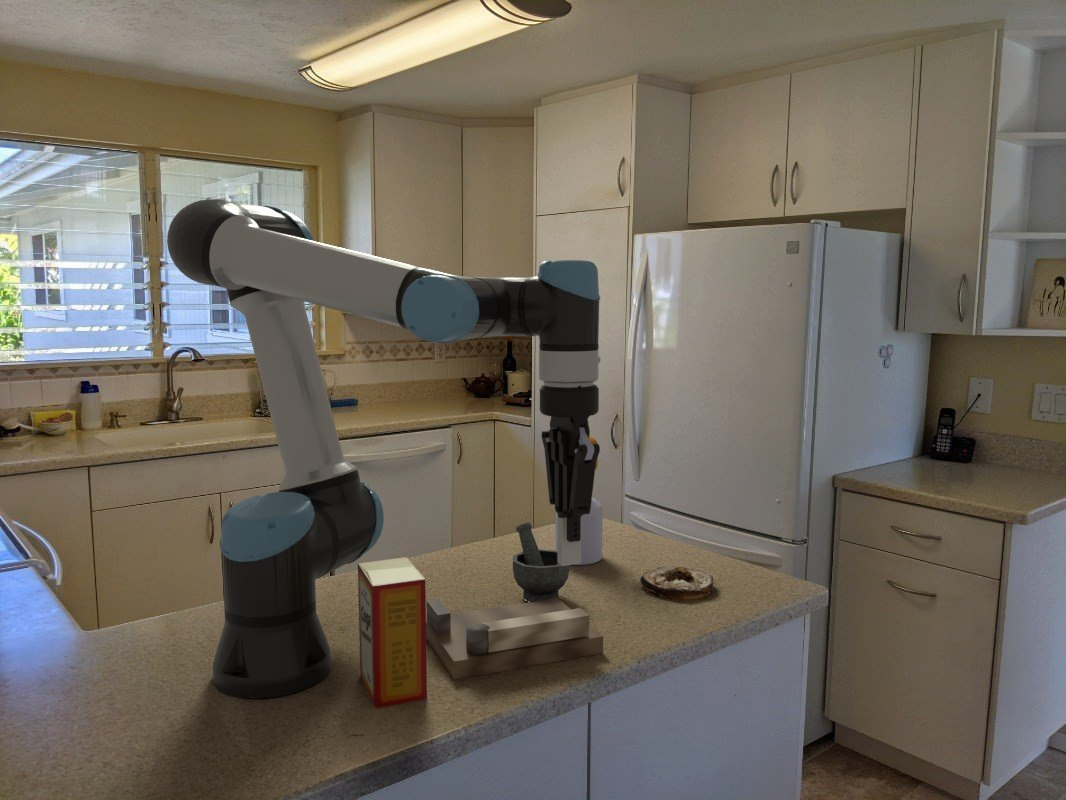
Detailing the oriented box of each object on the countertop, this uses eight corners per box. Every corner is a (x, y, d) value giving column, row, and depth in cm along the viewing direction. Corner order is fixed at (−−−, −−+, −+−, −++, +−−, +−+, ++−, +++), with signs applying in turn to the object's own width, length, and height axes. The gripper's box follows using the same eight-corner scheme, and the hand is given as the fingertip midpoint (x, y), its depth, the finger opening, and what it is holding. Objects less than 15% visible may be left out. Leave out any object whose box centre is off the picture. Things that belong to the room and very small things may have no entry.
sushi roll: (616, 585, 146) (616, 563, 146) (677, 570, 155) (678, 549, 154) (675, 612, 134) (676, 587, 134) (738, 594, 143) (739, 571, 142)
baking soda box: (360, 676, 111) (357, 560, 109) (408, 667, 113) (406, 554, 111) (375, 708, 102) (372, 583, 100) (427, 698, 105) (425, 576, 103)
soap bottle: (579, 548, 167) (580, 427, 164) (611, 559, 160) (613, 433, 157) (545, 557, 161) (546, 432, 158) (577, 569, 154) (578, 438, 151)
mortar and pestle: (581, 600, 138) (581, 530, 137) (535, 613, 133) (535, 540, 131) (540, 581, 147) (541, 515, 146) (496, 592, 142) (496, 524, 140)
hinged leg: (470, 655, 111) (470, 634, 110) (463, 646, 114) (463, 625, 113) (589, 636, 117) (589, 615, 117) (579, 627, 120) (579, 607, 120)
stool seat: (454, 679, 110) (453, 639, 109) (423, 633, 125) (422, 598, 124) (603, 653, 118) (603, 616, 117) (557, 613, 133) (557, 580, 132)
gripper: (619, 387, 101) (618, 574, 104) (574, 377, 113) (574, 546, 116) (563, 390, 98) (563, 582, 101) (522, 380, 110) (524, 552, 113)
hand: (569, 563), depth 108 cm, fingers closed
